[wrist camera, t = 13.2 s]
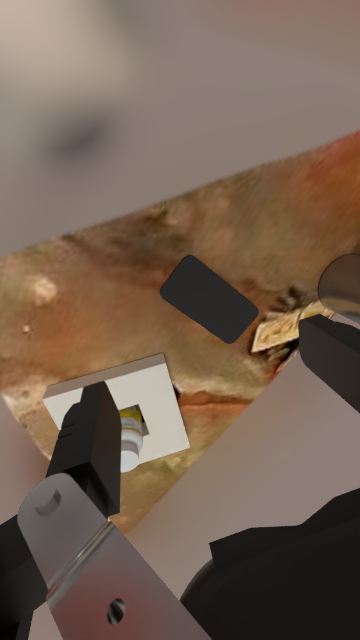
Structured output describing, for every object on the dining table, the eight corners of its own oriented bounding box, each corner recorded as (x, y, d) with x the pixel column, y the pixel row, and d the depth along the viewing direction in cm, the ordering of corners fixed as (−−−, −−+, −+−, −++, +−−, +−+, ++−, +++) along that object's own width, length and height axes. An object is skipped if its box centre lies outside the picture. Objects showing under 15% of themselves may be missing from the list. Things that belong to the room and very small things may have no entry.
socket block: (162, 352, 41) (165, 362, 39) (186, 434, 49) (190, 447, 46) (47, 386, 40) (42, 399, 37) (90, 465, 47) (88, 480, 45)
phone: (189, 251, 36) (262, 311, 41) (188, 250, 37) (259, 309, 42) (156, 294, 37) (230, 346, 43) (155, 292, 38) (229, 344, 44)
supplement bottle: (130, 393, 43) (131, 440, 34) (146, 414, 45) (151, 463, 37) (101, 409, 43) (95, 460, 35) (119, 429, 46) (118, 481, 37)
